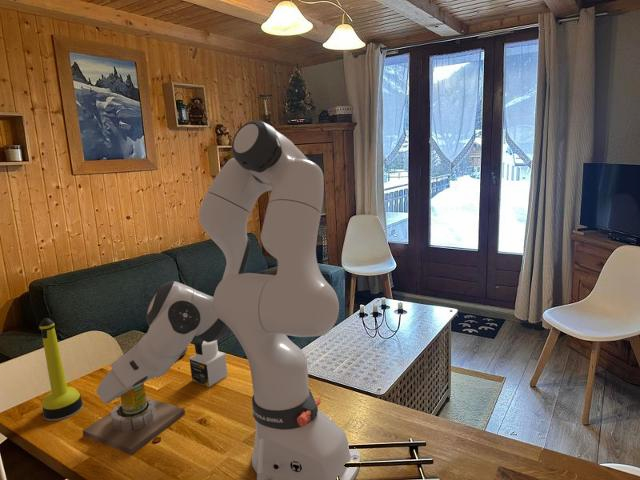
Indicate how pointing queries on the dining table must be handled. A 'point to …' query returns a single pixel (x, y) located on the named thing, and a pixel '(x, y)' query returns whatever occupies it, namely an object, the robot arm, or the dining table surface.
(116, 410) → the steel collar
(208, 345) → the medicine bottle
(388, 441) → the dining table surface
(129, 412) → the supplement bottle
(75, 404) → the flashlight
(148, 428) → the walnut base plate
